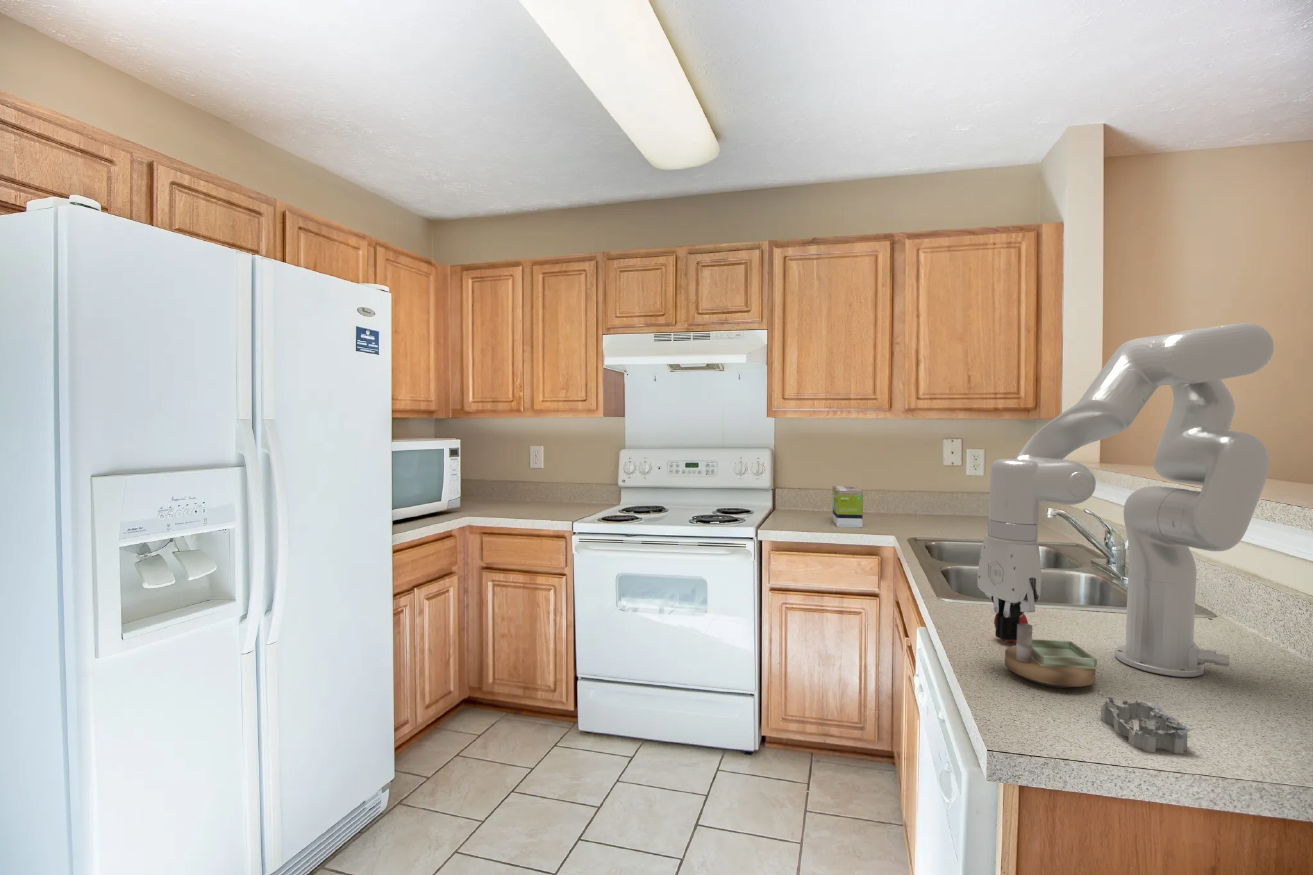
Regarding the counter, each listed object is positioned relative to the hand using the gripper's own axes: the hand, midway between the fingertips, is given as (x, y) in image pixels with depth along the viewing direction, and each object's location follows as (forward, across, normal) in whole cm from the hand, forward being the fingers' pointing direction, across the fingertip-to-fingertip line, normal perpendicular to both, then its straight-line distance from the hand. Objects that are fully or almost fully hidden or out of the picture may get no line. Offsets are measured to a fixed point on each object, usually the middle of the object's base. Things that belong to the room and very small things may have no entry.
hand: (1006, 637), depth 111 cm
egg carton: (+6, +22, +4) cm, 23 cm away
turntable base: (+6, +3, +6) cm, 9 cm away
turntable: (+5, +3, +6) cm, 8 cm away
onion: (+6, -13, +12) cm, 18 cm away
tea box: (+5, -143, +43) cm, 149 cm away
